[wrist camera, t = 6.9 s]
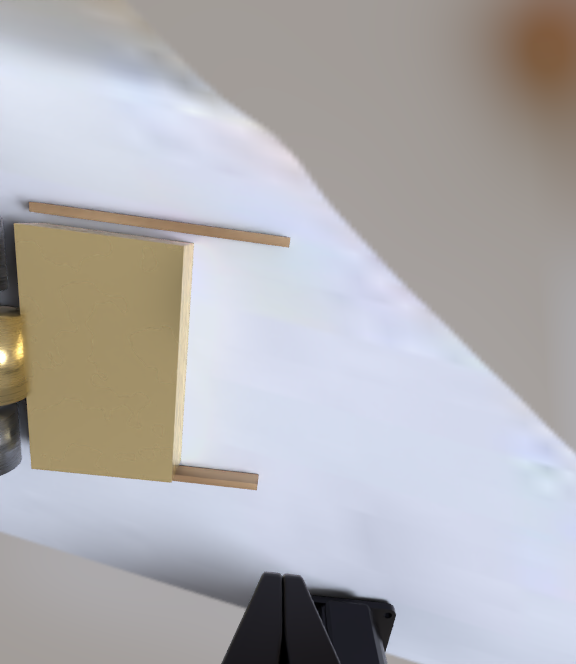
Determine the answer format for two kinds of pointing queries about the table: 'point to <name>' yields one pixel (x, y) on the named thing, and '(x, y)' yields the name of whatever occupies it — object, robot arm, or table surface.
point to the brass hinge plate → (99, 349)
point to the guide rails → (184, 471)
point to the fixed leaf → (3, 421)
